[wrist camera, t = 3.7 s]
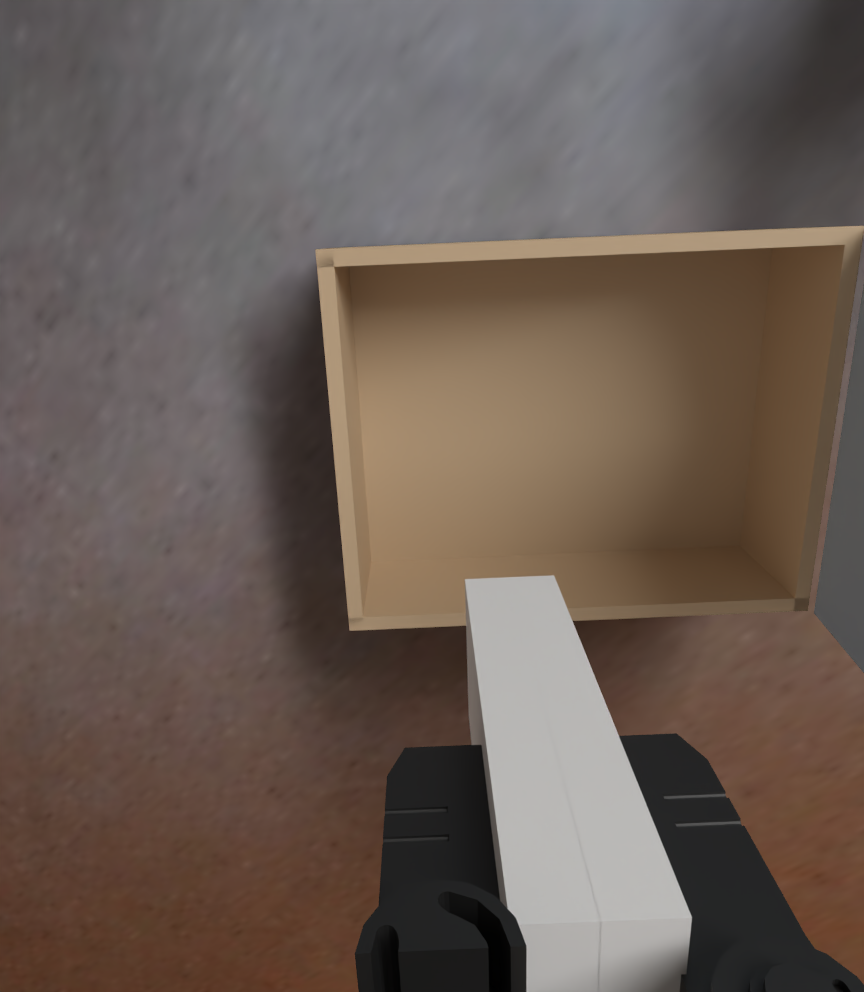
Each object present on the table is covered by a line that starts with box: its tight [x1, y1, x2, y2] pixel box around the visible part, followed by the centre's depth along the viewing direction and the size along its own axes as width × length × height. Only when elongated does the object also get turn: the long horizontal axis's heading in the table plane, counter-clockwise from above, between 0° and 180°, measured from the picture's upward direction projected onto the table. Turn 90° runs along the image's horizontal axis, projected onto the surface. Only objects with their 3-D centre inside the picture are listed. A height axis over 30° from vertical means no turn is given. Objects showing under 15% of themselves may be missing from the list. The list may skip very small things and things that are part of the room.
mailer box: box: [315, 226, 864, 631], centre depth 26 cm, size 16×13×5 cm
